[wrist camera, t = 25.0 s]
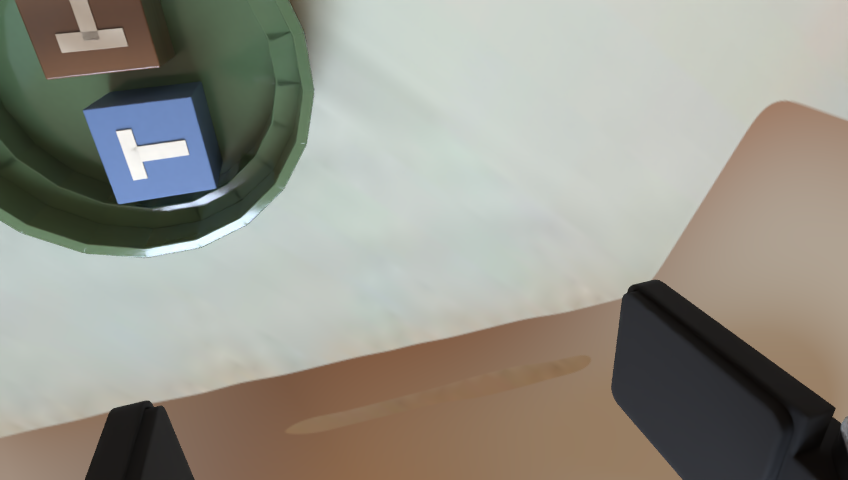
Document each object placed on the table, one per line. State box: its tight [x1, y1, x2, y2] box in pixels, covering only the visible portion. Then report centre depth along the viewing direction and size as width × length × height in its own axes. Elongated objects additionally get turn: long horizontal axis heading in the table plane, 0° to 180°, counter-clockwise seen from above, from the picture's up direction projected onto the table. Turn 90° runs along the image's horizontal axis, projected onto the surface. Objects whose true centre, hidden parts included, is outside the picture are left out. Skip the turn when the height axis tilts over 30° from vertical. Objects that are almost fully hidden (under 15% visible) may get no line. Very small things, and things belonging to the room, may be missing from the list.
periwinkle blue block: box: [83, 82, 223, 204], centre depth 28 cm, size 5×5×5 cm
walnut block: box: [15, 0, 175, 80], centre depth 25 cm, size 5×5×5 cm
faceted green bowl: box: [0, 0, 314, 258], centre depth 27 cm, size 18×18×6 cm
